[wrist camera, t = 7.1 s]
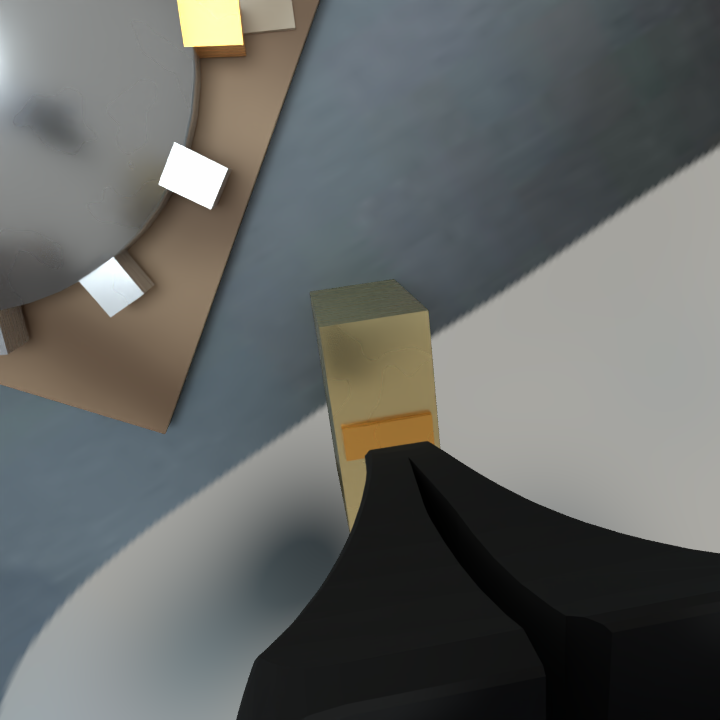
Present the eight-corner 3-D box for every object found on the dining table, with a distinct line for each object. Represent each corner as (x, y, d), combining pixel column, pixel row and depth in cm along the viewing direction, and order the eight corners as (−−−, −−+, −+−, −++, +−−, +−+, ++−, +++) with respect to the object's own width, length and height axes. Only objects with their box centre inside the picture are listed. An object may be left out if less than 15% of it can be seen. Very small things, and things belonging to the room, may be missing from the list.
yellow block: (411, 453, 22) (449, 531, 17) (336, 466, 22) (352, 549, 17) (393, 278, 20) (430, 312, 15) (309, 291, 20) (319, 329, 15)
